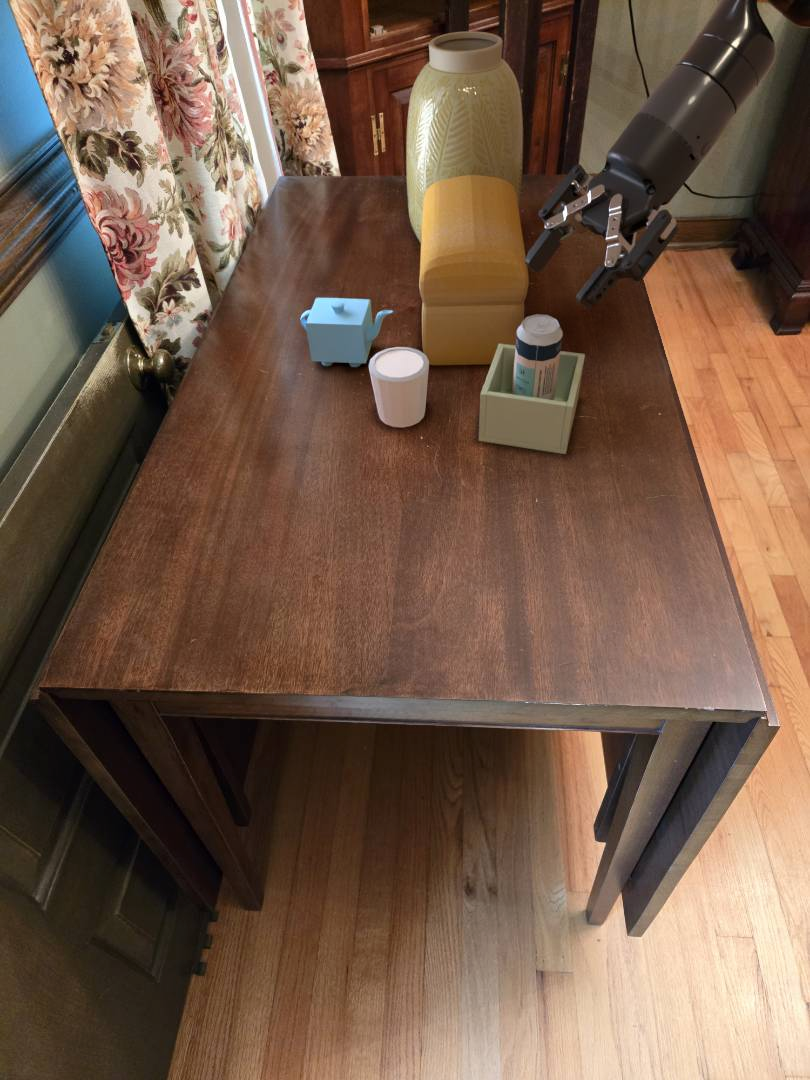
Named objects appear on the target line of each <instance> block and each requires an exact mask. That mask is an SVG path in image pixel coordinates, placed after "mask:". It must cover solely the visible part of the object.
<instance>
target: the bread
mask: <svg viewBox="0 0 810 1080" xmlns="http://www.w3.org/2000/svg"><path fill="white" fill-rule="evenodd" d="M521 223H522V222H521V217H520V208H519V209H518V203H517V196H516V192H515V189H514V188H513V186H512V185H511V184H510V183H509V182H507V181H506V180H503V179H500V178H495V177H488V176H480V175H465V176H458V177H453V178H448V179H444V180H440V181H438V182H435V183H434V184H432V185H431V186H430V187H429V188H428V189H427V191H426V193H425V196H424V200H423V219H422V239H421V244H420V261H419V281H418V282H419V283H418V289H419V295H420V298H421V301H422V303H421V305H422V306H421V341H422V353H423V354H425V355H426V356H427V358H428V361H429V366H475V365H476V366H480V365H481V366H482V365H483V366H484V365H491V364H492V361H493V358H494V356H495V353H496V350H497V348H498V345H499V343H500V344H508V345H516V335H517V329H518V327H519V326H520V325H521V323H522V322H523V320H524V319H525V300H526V297H527V294H528V290H529V285H530V283H529V282H530V281H529V277H530V276H529V271H528V266H527V265H526V264H525V260H526V258H527V255H526V250H525V244H524V236H523V230H522V224H521Z"/></svg>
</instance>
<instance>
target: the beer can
mask: <svg viewBox="0 0 810 1080" xmlns="http://www.w3.org/2000/svg"><path fill="white" fill-rule="evenodd" d="M563 333H564V332H563V330H562V328H561V326H560V323H559V320H558V319H557V318H555V317H552V316H551V315H549V314H533V315H529V316H527V317H524V320H523V322H522V323H521V325H520V326H519V327H518V329H517V335H516V348H515V360H514V373H513V386H512V394H513V395H520V396H527V397H534V398H541V399H549V400H554V397H555V389H556V382H557V374H558V367H559V359H560V352H561V351H562V344H563V343H562V342H563V336H564V334H563Z"/></svg>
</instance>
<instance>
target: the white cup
mask: <svg viewBox="0 0 810 1080" xmlns="http://www.w3.org/2000/svg"><path fill="white" fill-rule="evenodd" d="M429 368H430V365H429V361H428V358H427V356H426V355H425V354H424V353H423V351H421V350H419V349H417V348H413V347H410V346H395V347H388V348H385V349H382V350H380V351H378V352H377V353H375V354H374V355H373V356H372V357H371V358H370V360H369V362H368V370H369V376H370V380H371V385H372V391H373V394H374V399H375V404H376V405H375V406H376V410H377V415H378V417H379V420H380V421H381V422H382V423H384V424H385V425H387V426H389V427H392V428H407V427H412V426H414V425H416V424H419V423H420V422H421V421H422V420H423V419H424V417H425V413H426V404H427V396H428V395H427V393H428V381H429Z"/></svg>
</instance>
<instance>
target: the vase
mask: <svg viewBox="0 0 810 1080" xmlns="http://www.w3.org/2000/svg"><path fill="white" fill-rule="evenodd" d="M503 42H504V41H503V38H502V37H501V36H499V35H497V34H494V33H491V32H485V31H476V30H475V31H474V30H473V31H471V30H470V31H469V30H468V31H467V30H466V31H454V32H448V33H445V34H441V35H437V36H435V37H434V38H432V39H431V40H430V41H429V44H428V50H429V53H428V54H429V55H428V57H429V61H427V62H426V64H425V65H423V67H422V68H421V70H420V71H419V72H418V75H417V76H416V78H415V80H414V82H413V85H412V90H411V92H410V97H409V101H408V102H409V103H408V112H407V120H406V121H407V122H406V134H405V135H406V137H405V138H406V139H405V140H406V141H405V182H406V184H405V185H406V186H405V187H406V200H407V211H408V218H409V222H410V226H411V228H412V231H413V233H414V234H415V236H416V238H417V240H418V242H419V243H420V245H421V239H422V219H423V200H424V196H425V193H426V191H427V189H428V188H429V187H430V186H431V185H432V184H434V183H435V182H438V181H440V180H444V179H448V178H453V177H458V176H465V175H480V176H488V177H495V178H500V179H503V180H506V181H507V182H509V183H510V184H511V185H512V186H513V188H514V189H515V192H516V196H517V203H518V209H519V210H520V206H521V195H522V185H523V168H524V167H523V164H524V121H523V118H524V117H523V105H522V97H521V90H520V85H519V83H518V80H517V77H516V75H515V74H514V71H513V70H512V68H511V67H510V65H509V63H508V62H506V61H505V60H504V59H503V57H502V56H503V45H504V44H503Z"/></svg>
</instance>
